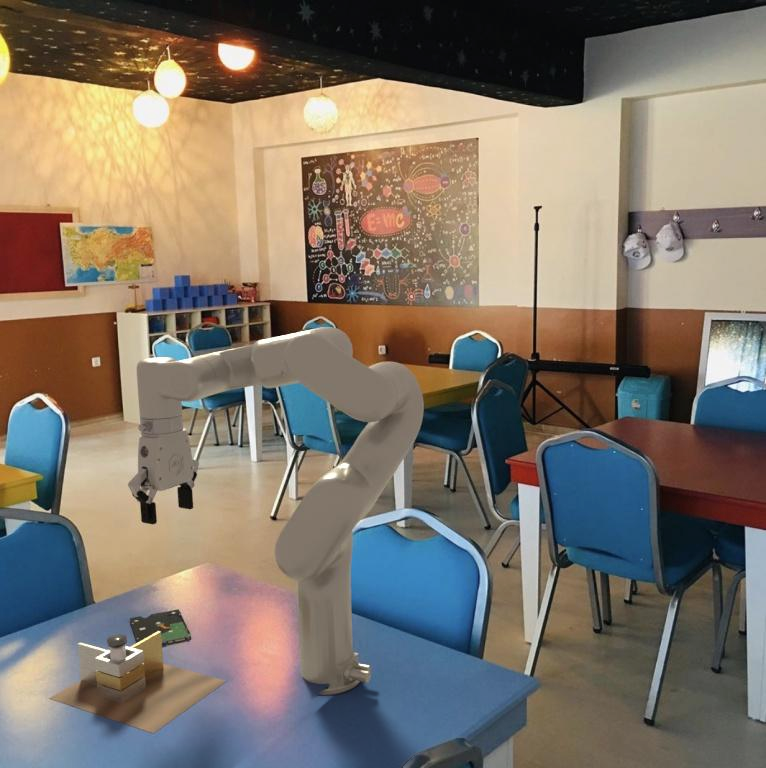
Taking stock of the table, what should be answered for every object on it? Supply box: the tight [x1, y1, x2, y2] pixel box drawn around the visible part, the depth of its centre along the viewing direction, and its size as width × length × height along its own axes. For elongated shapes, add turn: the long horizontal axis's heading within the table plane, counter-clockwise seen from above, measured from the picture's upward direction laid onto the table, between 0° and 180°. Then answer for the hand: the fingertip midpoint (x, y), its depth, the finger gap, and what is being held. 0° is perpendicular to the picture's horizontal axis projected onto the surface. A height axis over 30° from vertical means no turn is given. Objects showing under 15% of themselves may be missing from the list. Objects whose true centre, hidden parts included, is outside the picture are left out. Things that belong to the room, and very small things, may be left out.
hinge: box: [77, 631, 164, 704], centre depth 148 cm, size 13×13×7 cm
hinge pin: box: [106, 633, 128, 662], centre depth 143 cm, size 3×3×10 cm
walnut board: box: [49, 662, 228, 734], centre depth 145 cm, size 24×18×2 cm
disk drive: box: [129, 609, 192, 647], centre depth 168 cm, size 10×3×15 cm
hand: (168, 515), depth 154 cm, fingers open, 9 cm apart
